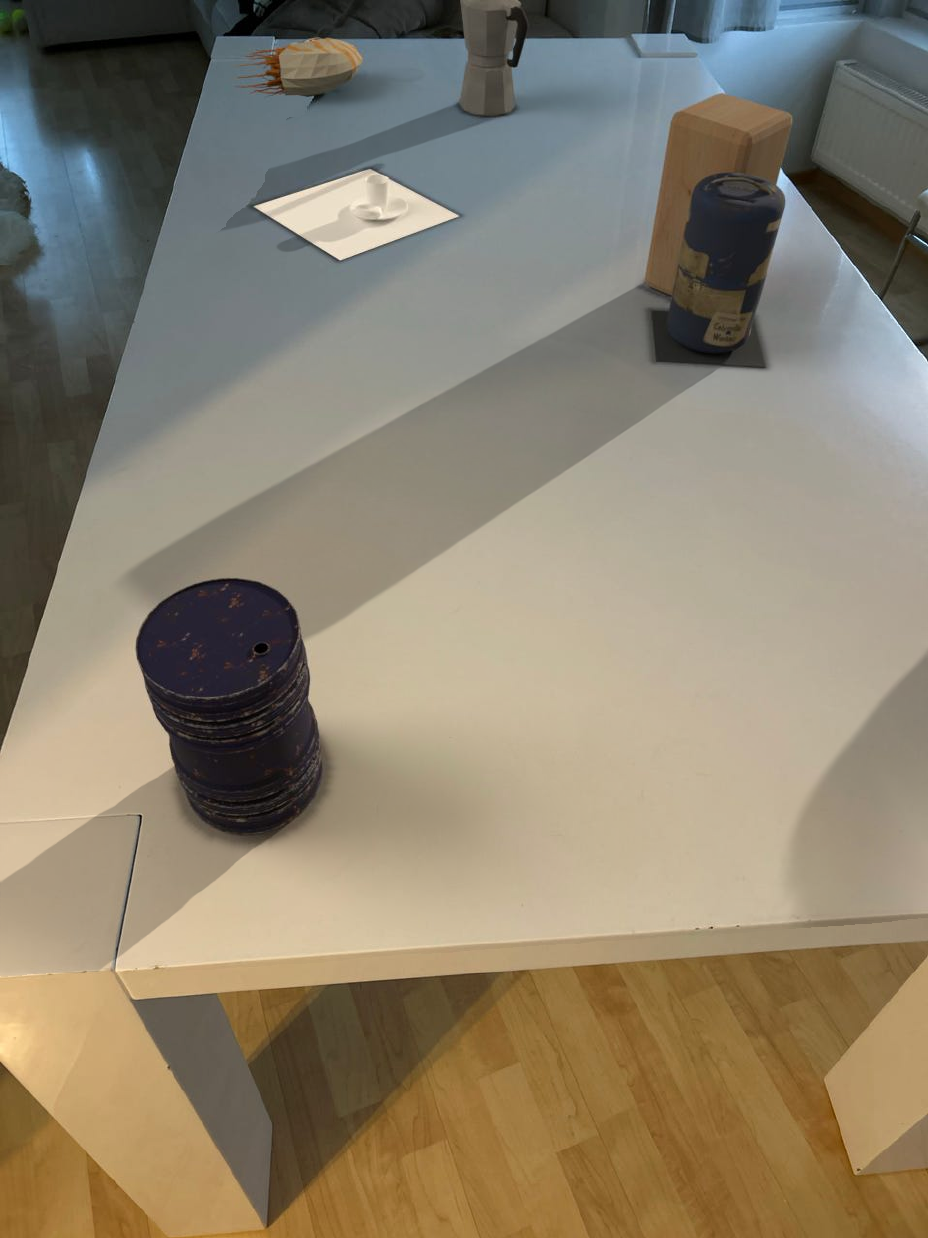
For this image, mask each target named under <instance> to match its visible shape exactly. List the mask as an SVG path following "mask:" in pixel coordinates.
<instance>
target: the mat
mask: <svg viewBox="0 0 928 1238" xmlns="http://www.w3.org/2000/svg"><path fill="white" fill-rule="evenodd" d="M668 312H669V310H653V309H652V310H651V311H650V316H651V323H652V335H653V344H654V355H655V362H657V363H672V364H673V363H675V364H689V365H691V364H692V365H706V366H707V365H708V366H724V367H725V366H726V367H740V368H741V367H742V368H756V369H757V368H758V369H761V368H762V369H766V367H767V366H766V362H765V359H764V355H763V350H762V346H761V342H760V338H759V334H758V330H757V326H756V322H755V318H754V319H753V323H752V328H751V333H750V336H749V338H748V339H747V341H746V342H745V343H744V344H743V345H742V346H740V347H739V348H737V349H735V350H732V351H729V352H725V353H704V352H698V351H695V350H692V349H689V348H687V347H685V346H683V345H681V344H680V343H678V342H677V341H676V340H675V339H674V338H673V337H672V336H671V335H670V333H669V331H668V327H667V318H668Z"/></svg>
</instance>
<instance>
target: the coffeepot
mask: <svg viewBox="0 0 928 1238" xmlns="http://www.w3.org/2000/svg"><path fill="white" fill-rule="evenodd" d="M459 1H460V9H461V10H460V11H461V19H462V28H463V29H462V30H463V37H464V46H465V49H466V51H467V61H466V63H465V67H464V73H463V79H462V85H461V90H460V97H459V102H458V103H459V105H460V107H461V109H462V111H464V112H466V113H468V114H471V115H474V116H479V117H499V116H504V115H507V114H509V113H511V112H512V111H513V109H514V108H515V107H516V100H515V89H514V79H513V78H514V77H513V70H512V68H514V69H515V68H517V67H518V66H519V62H520V59H521V56H522V52H523V48H524V45H525V41H526V38H527V36H528V35H527V34H528V31H529V27H530V26H529V25H530V24H529V20H528V17H527V15H526V12H525V10H524V9H523V8H522V3H521V1H519V0H459ZM511 52H512V59H511V58H510V54H511Z"/></svg>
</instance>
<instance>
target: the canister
mask: <svg viewBox="0 0 928 1238" xmlns="http://www.w3.org/2000/svg"><path fill="white" fill-rule="evenodd" d="M785 208H786V195H785V194H784V191H783V190H782V189H781V188H780V187H779V186H778V185H777V184H776V185H775V184H774V183H772V182H771V181H769V180H767V179H764V178H761V177H758V176H754V175H750V174H743V173H719V174H714V175H711V176H708V177H706V178H704V179H702V180H701V181H700V182H699V183H698V184H697V185H696V186H695V188H694V190H693V193H692V197H691V202H690V207H689V211H688V215H687V220H686V225H685V230H684V235H683V240H682V245H681V250H680V254H679V259H678V261H679V263H678V268H677V273H676V278H675V283H674V287H673V292H672V296H671V297H670V303H669V306H668V307H669V308H668V311H669V312H668V318H667V327H668V331H669V333H670V335H671V336H672V337H673V338H674V339H675V340H676V341H677V342H678V343H680V344H681V345H683V346H685V347H687V348H689V349H692V350H695V351H698V352H704V353H725V352H729V351H732V350H735V349H737V348H739V347H740V346H742V345H743V344H744V343H745V342H746V341H747V339H748V338H749V336H750V333H751V328H752V323H753V319H754V320H755V315H756V313H757V309H758V307H759V303H760V301H761V297H762V293H763V290H764V286H765V283H766V279H767V275H768V270H769V267H770V262H771V258H772V255H773V253H774V252H773V251H774V248H775V244H776V241H777V236H778V235H779V234H778V233H779V229H780V226H781V223H782V219H783V216H784V211H785Z"/></svg>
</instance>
